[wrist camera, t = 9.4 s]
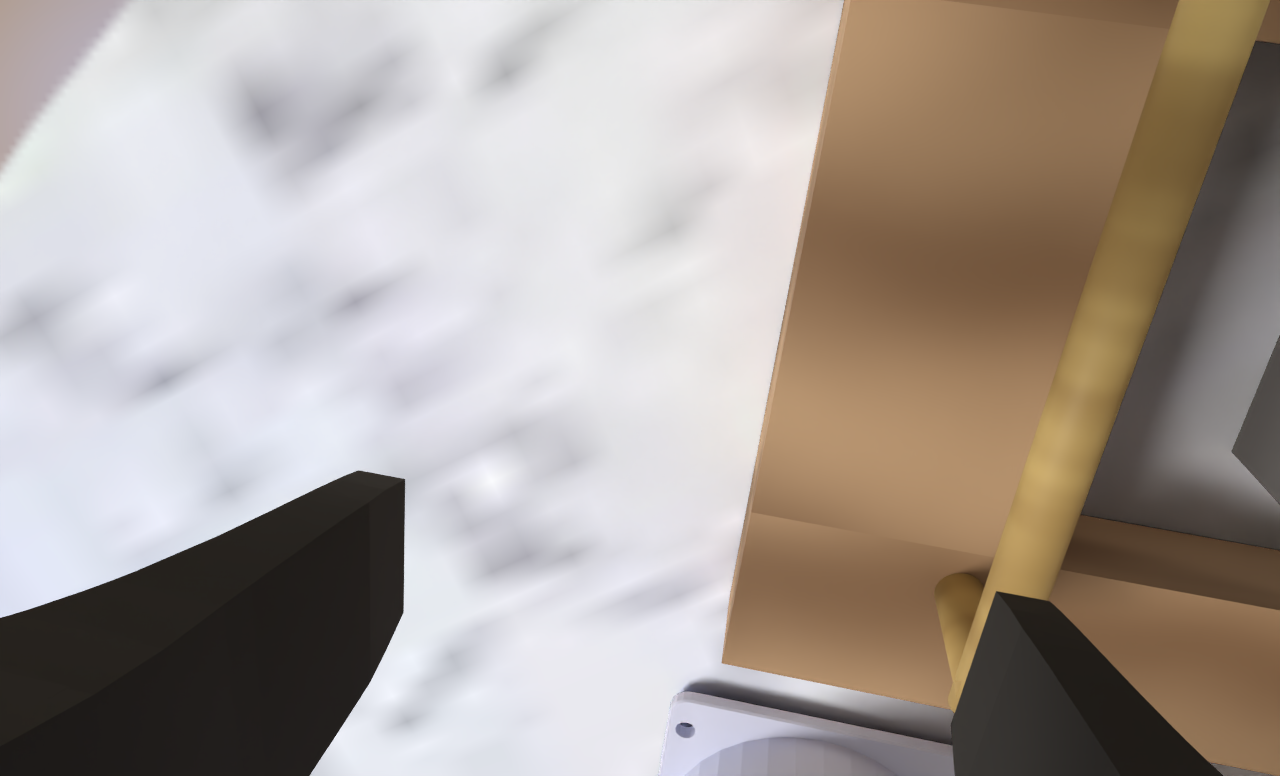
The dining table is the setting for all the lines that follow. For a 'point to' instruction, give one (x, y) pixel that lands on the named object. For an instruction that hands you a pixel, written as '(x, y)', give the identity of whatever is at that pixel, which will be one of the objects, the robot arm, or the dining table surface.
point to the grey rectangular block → (1263, 430)
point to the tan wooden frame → (997, 360)
